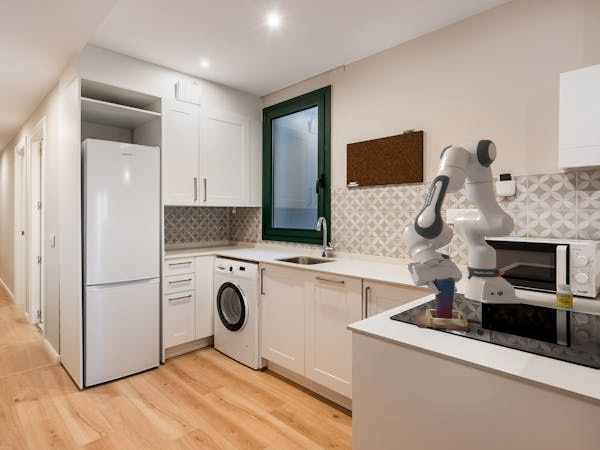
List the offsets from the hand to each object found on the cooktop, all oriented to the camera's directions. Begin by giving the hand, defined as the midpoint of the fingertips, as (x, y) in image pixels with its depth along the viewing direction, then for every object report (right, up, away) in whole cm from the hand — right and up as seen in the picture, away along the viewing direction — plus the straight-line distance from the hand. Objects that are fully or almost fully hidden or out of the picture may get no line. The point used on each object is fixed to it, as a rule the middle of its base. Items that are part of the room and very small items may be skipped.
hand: (447, 292), depth 125 cm
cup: (0, -10, +2) cm, 10 cm away
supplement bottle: (+55, -10, +17) cm, 58 cm away
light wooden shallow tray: (-1, -11, +4) cm, 12 cm away
